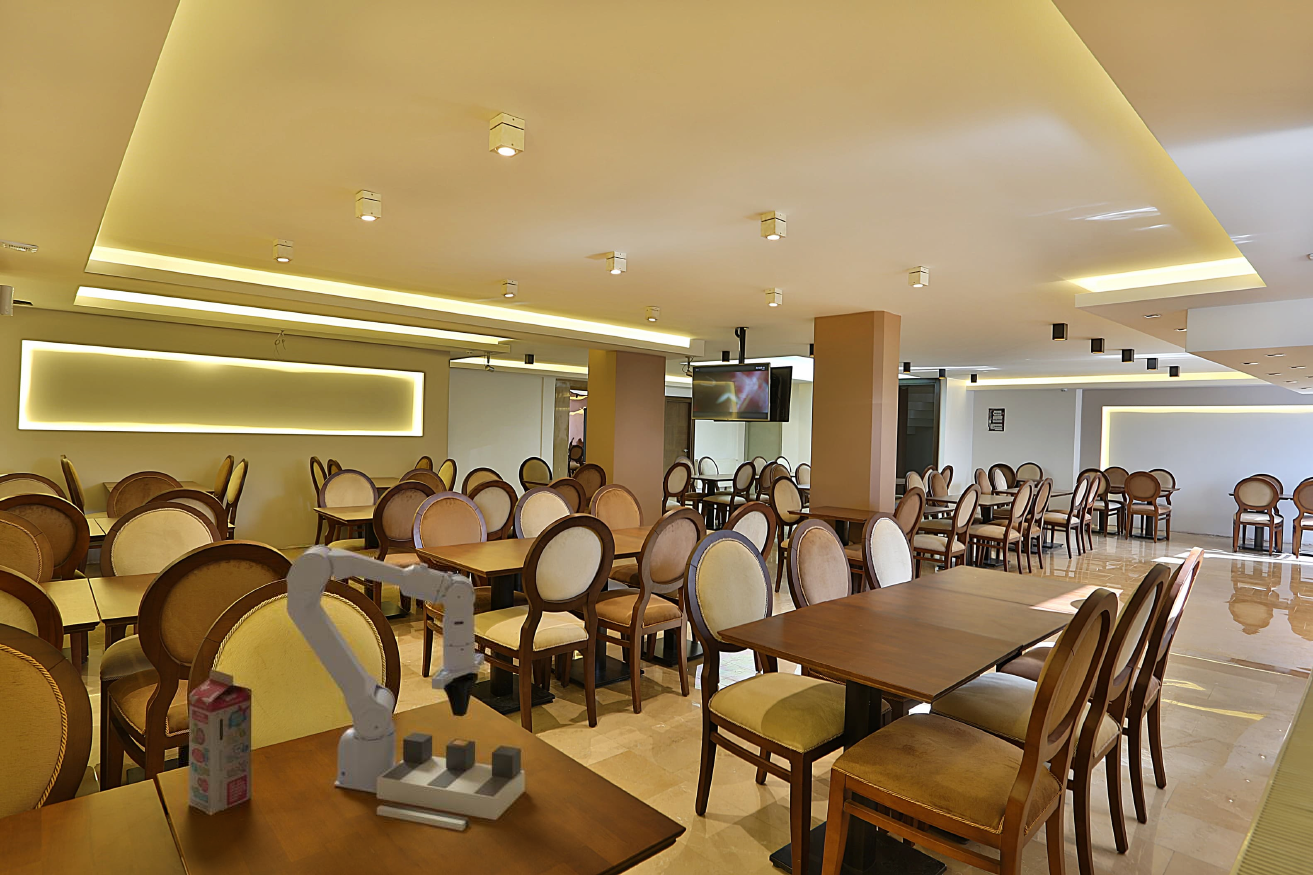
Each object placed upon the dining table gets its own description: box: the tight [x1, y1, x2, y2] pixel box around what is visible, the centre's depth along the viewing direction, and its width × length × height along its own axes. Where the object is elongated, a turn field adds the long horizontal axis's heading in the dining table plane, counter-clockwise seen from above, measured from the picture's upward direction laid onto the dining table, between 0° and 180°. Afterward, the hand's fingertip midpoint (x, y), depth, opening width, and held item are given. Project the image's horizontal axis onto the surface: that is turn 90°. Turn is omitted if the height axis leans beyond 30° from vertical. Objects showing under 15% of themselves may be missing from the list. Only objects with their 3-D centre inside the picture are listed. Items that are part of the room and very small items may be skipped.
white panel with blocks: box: [376, 732, 526, 821], centre depth 124 cm, size 23×10×8 cm, turn 73°
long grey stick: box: [376, 802, 469, 831], centre depth 116 cm, size 16×2×1 cm, turn 73°
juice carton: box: [188, 668, 253, 814], centre depth 121 cm, size 7×7×22 cm
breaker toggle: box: [445, 738, 476, 771], centre depth 127 cm, size 4×3×4 cm
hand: (459, 714), depth 133 cm, fingers closed
